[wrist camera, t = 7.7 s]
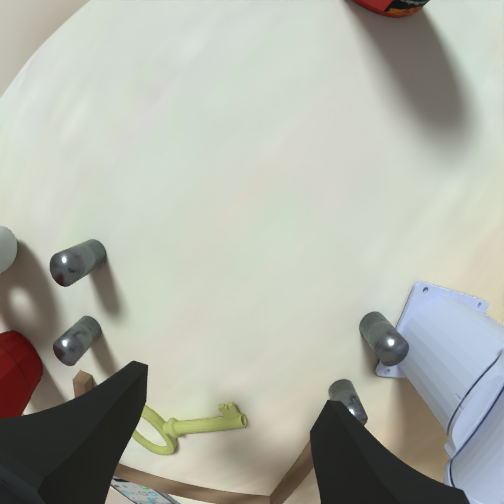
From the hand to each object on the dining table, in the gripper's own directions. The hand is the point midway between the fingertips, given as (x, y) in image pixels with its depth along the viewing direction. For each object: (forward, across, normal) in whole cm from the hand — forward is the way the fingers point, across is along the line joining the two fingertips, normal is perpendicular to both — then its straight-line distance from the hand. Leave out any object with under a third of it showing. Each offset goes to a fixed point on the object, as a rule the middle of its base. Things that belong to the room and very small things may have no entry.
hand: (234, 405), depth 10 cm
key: (+9, +3, +12) cm, 16 cm away
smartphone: (+9, +5, +33) cm, 34 cm away
